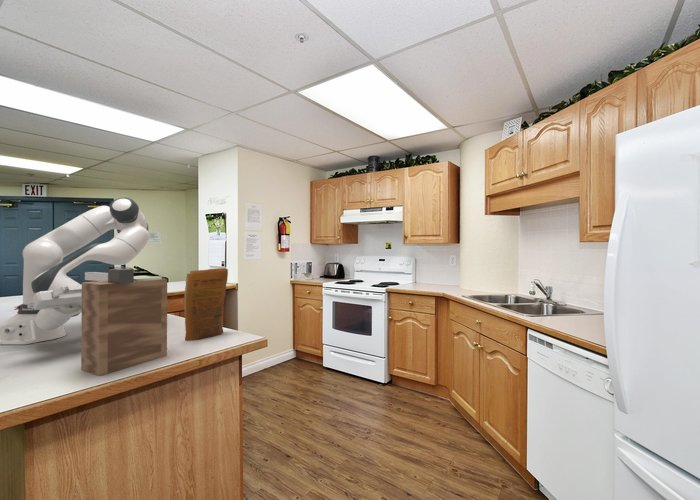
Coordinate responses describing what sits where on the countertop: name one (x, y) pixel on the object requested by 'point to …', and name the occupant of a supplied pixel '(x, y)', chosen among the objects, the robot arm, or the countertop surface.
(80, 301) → the robot arm
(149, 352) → the brown wooden box
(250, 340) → the countertop surface
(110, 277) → the grey metal bar
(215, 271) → the pancake mix bag
